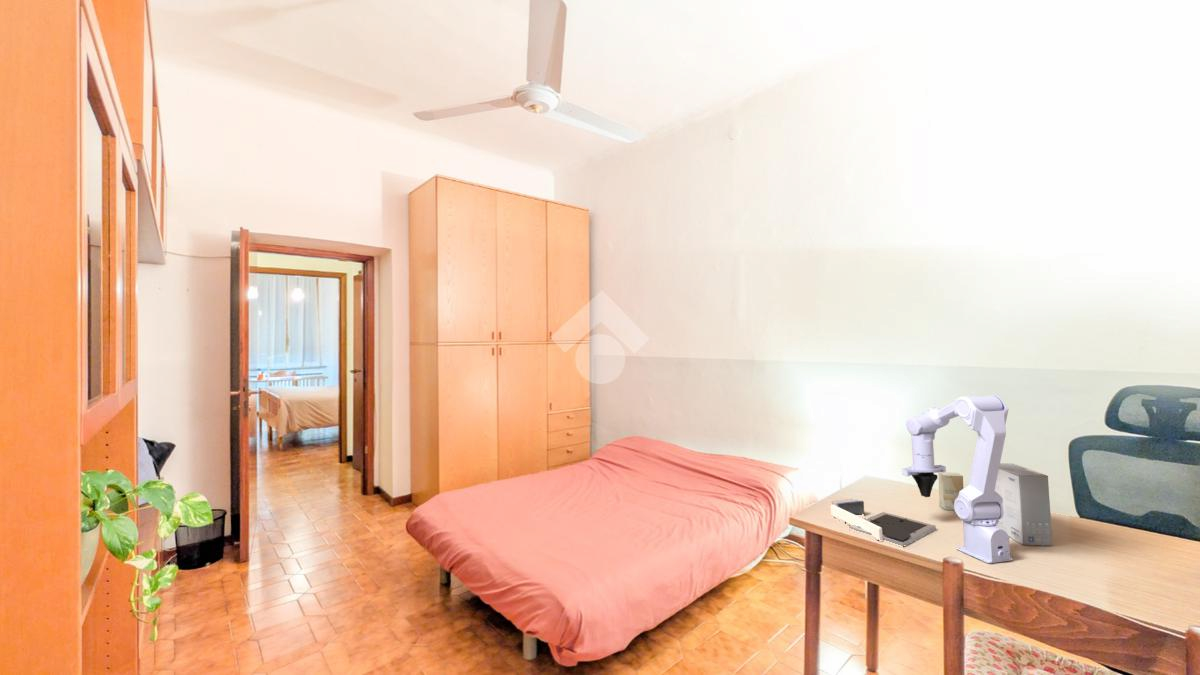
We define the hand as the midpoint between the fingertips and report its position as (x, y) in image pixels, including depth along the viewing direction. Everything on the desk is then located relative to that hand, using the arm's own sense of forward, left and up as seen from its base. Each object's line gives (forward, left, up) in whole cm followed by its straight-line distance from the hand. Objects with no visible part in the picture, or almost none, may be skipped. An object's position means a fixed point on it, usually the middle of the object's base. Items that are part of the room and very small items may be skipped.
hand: (925, 496), depth 151 cm
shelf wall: (+4, +23, -9) cm, 25 cm away
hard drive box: (-14, -19, -10) cm, 25 cm away
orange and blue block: (+15, +18, -9) cm, 25 cm away
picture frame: (0, +13, -10) cm, 17 cm away
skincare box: (+10, -21, -10) cm, 25 cm away
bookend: (+12, +17, -9) cm, 23 cm away
